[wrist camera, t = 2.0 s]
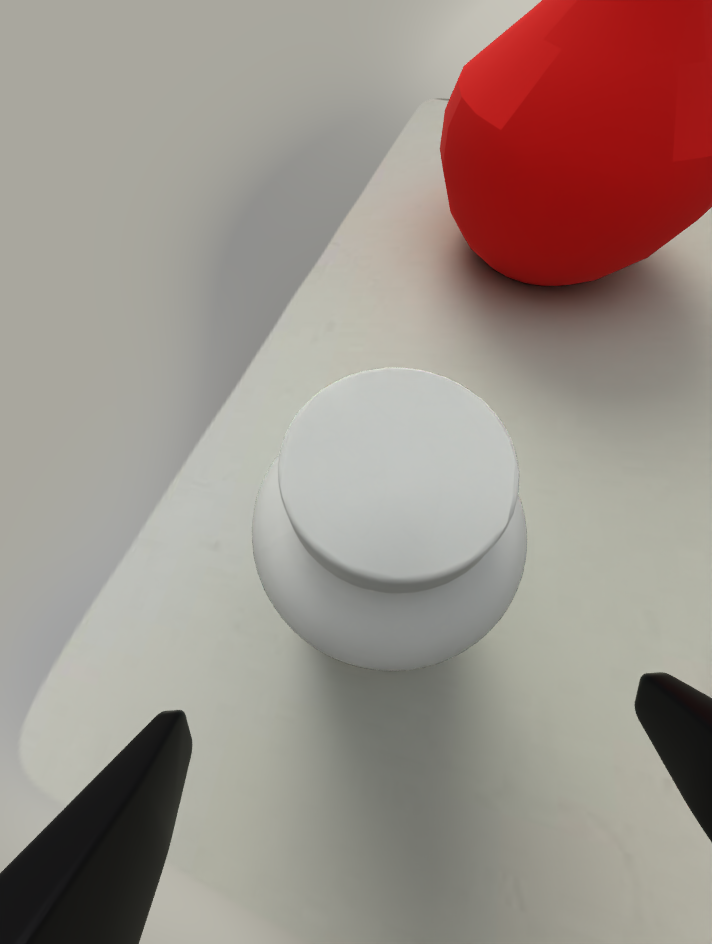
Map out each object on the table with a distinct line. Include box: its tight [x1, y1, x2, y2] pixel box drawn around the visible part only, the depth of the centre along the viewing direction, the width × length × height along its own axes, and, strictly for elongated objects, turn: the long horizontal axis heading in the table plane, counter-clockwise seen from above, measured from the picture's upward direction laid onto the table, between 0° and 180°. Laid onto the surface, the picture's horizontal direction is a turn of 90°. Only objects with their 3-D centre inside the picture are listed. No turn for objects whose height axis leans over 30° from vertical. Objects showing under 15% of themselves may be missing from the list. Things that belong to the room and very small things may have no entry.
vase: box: [440, 0, 712, 286], centre depth 23 cm, size 18×18×19 cm
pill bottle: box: [252, 367, 527, 671], centre depth 13 cm, size 8×7×14 cm
